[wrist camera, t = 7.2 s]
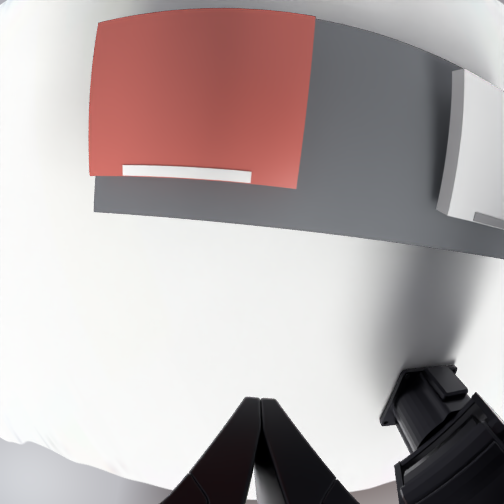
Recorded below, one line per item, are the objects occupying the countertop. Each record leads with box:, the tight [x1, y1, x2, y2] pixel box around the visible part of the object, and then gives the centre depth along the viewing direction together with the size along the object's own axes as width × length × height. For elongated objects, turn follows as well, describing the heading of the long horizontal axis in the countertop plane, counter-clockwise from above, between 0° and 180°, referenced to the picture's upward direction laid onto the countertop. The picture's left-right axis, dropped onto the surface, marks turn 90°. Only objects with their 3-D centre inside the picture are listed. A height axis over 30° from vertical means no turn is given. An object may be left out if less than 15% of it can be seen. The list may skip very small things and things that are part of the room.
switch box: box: [94, 19, 504, 259], centre depth 15 cm, size 12×29×5 cm, turn 84°
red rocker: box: [89, 8, 316, 189], centre depth 11 cm, size 8×10×1 cm
